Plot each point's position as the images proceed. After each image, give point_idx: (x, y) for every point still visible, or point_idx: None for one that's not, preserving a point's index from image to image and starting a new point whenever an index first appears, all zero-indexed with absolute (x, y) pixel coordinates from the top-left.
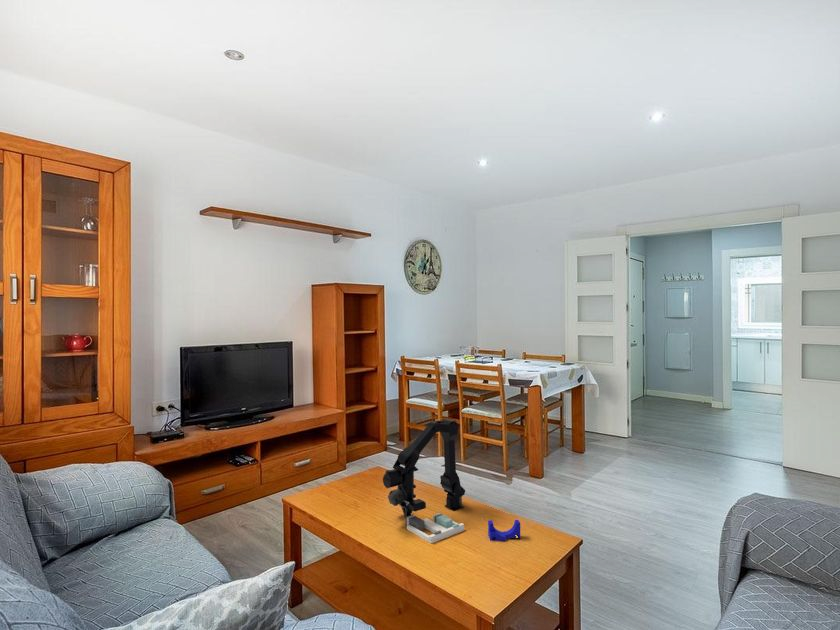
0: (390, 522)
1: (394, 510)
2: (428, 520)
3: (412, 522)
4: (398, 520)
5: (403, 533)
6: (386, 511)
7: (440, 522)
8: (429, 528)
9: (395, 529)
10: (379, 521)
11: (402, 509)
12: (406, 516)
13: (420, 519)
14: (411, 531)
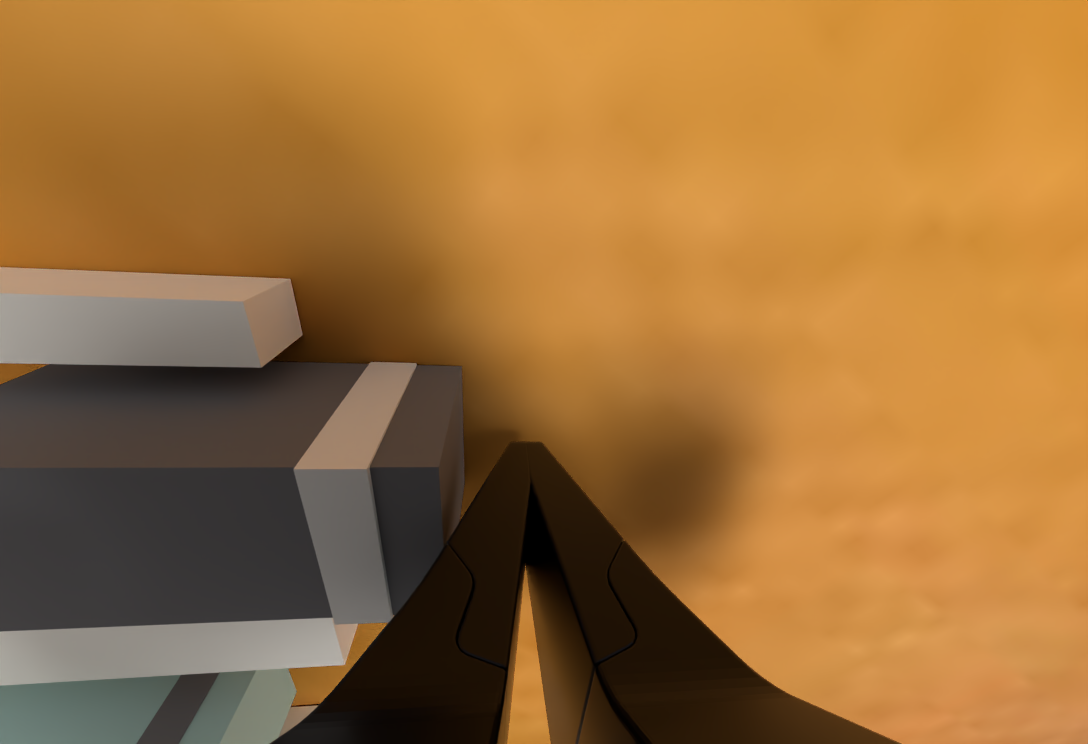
0: (751, 222)
1: (929, 508)
2: (257, 651)
3: (137, 431)
4: (686, 379)
5: (110, 69)
6: (1028, 422)
7: (40, 726)
8: None
9: (421, 65)
10: (987, 59)
11: (657, 598)
12: (430, 482)
13: (83, 612)
14: (115, 274)
